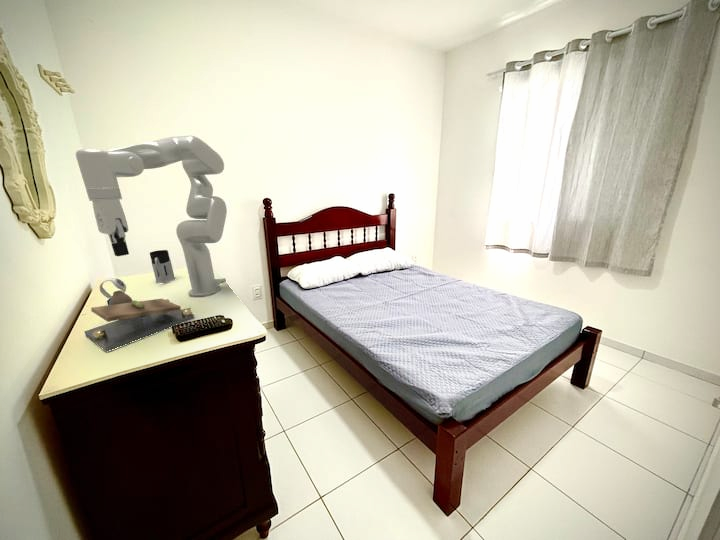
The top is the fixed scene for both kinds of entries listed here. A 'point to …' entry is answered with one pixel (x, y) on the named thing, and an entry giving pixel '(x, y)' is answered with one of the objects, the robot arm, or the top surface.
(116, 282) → the watch
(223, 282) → the robot arm
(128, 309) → the plate
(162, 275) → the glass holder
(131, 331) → the base
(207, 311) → the top surface
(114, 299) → the vase
